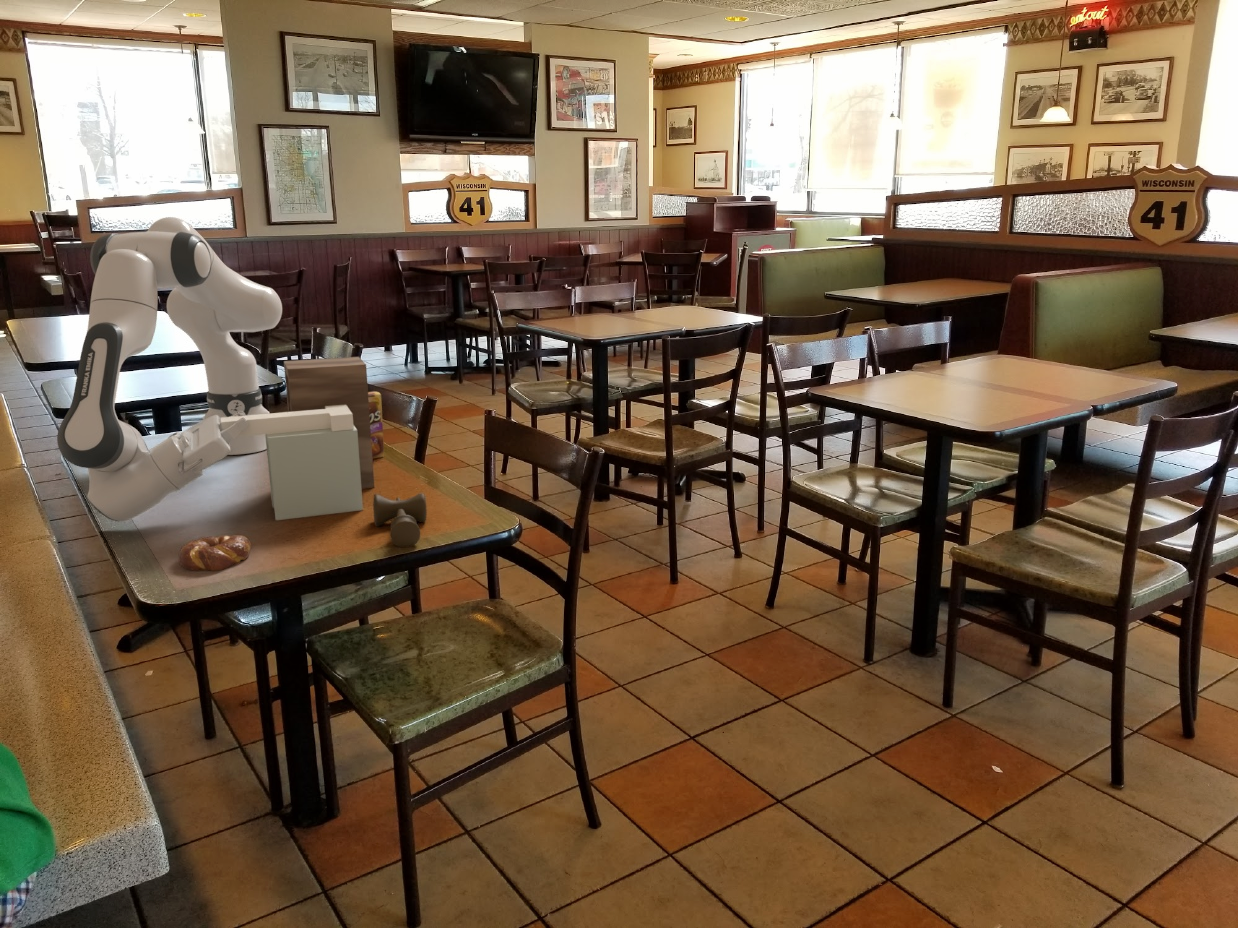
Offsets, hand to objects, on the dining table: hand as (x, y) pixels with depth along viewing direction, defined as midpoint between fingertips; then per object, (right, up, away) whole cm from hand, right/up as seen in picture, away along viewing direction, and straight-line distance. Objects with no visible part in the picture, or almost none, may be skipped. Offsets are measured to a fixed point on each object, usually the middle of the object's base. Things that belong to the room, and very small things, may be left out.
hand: (246, 417), depth 175 cm
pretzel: (+2, -25, -16) cm, 30 cm away
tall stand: (+9, -13, +24) cm, 29 cm away
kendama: (+29, -21, -2) cm, 36 cm away
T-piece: (+6, -2, +3) cm, 7 cm away
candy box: (+10, -7, +44) cm, 46 cm away
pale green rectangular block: (+10, -17, +10) cm, 22 cm away
